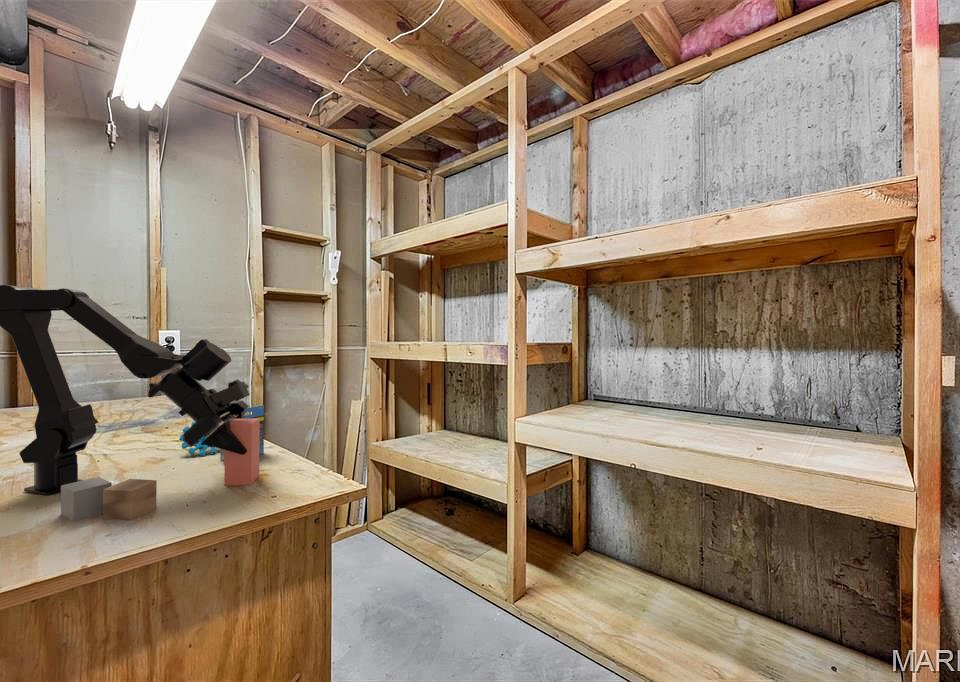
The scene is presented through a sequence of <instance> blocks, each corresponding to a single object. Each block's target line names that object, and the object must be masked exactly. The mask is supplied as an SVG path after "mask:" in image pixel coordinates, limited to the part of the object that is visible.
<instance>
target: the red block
mask: <svg viewBox="0 0 960 682" xmlns="http://www.w3.org/2000/svg"><path fill="white" fill-rule="evenodd" d="M230 430H231V431H232V433H233V434H234V435H235V436H236V437H237V438H238V440H239V441H240V442H241V443H242V444H243V445H244V447H245V448H246V449H247V452H246V453H245V454H244V455H241V454H238V453H234V452H231V451H227V450H225V461H224V470H223V471H224V480H223V481H224V483H223V484H224V486H227V487H228V486H248V485H250V486H251V485H253V484H254V482H255V481H256V480H257V479H258V478H259V477H260V454H259V432H260V418H255V419H233V420H231V421H230Z"/></svg>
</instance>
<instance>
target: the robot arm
mask: <svg viewBox="0 0 960 682" xmlns="http://www.w3.org/2000/svg"><path fill="white" fill-rule="evenodd" d="M53 311H55V312H57V311H58V312H59V311H63V312H64V313H65V314H66V315H68V316H69V317H70V318H72V319H73V320H75V321H76V322H77V323H79V324H80V325H81V326H82V327H84V328H85V329H86V330H88V331H89V332H90V333H92V334H93V335H95V336H96V338H97V337H98V339H100V340H101V341H102V342H104V343H105V344H106V345H108V346H109V348H112V349H113V350H114V352H116V353H117V355H118V358H119V360H120V362H121V363H122V364H123V365H124V366H125V368H126V369H128V371H129V372H130V373H131V374H132V375H133V376H135V377H137V378H138V379H141V380H142V379H144V380H146V379H152V378H158V377H162V376H164V377H163V378H162V379H160V380H158V382H157V381H155V382H151V383H149V384H148V386H149V387H148V388H149V390H148V394H147V397H148V398H150V399H151V398H154V397H157V396H160V395H162V394H163V395H164V396H166V398H167V399H169V400H170V402H172V403H173V404H174V405H176V406H177V408H179V409H180V410H179V411H178V414H179V416H182V417H183V416H186V415H187V416H188V417H189V418H190V419H191V420H193V422H196V423H195V424H194V425H193V426H191V427H189V429H188V430H187V431H186V432H185V433H184V432H183V433H182V434H183V441H182V442H185V443H186V444H187V445H188V446H189V447H188V448H189V449H190V448H194V447H195V446H194V445H196V444H198V443H199V440H200V439H201V438H202V437H205V438H206V439H205V440H204V441H203V442H202V443H201V445H207V446H212V447H215V449H219V450H220V449H224V450H227V451H231V452H234V453H238V454H241V455H244V454H245V453H246V452H247V449H246V448H245V447H244V445H243V444H242V443H241V442H240V441H239V440H238V438H237V437H236V436H235V435H234V434H233V433H232V431H231V430H230V421H231V420H233V419H244V416H245V415H246V413H247V412H245V411H244V410H246V409H247V408H250V407H249V405H248V404H247V403H246V402H245V401H243V400H242V399H245V398H247V397H248V396H251V394H250V392H249V390H248V389H249V385H248V384H247V383H246V382H245V381H241V380H239V379H236V380H234V381H231V382H227V383H228V385H227V387H226V388H224V389H221V390H220V391H216V390H215V389H214V388H209V389H207V388H206V387H205V386H204V385H202V384H201V383H200V382H201V381H203V380H204V381H208V382H209V381H211V380H212V379H213V378H214V377H216V375H217V374H218V373H220V372H221V371H222V370H224V368H225V367H226V366H228V365H229V364H230V363H231V362H232V357H231V355H229V354H228V352H227V351H225V349H223V348H221V347H219V346H218V345H216V344H214V343H212V342H210V341H209V340H208V339H207V338H206V339H204V338H203V339H200V340H199V341H198V342H197V343H196V344H195V345H194V347H193V348H192V349H190V350H189V351H188V352H187V353H186V354H178V353H177V354H175V353H174V352H173V351H172V350H170V349H168V348H167V347H165V346H163V345H161V344H159V343H158V342H156V341H153V340H150V339H147V338H145V337H143V336H141V335H140V334H137V333H136V332H135V331H133V330H132V329H131V328H129V327H128V326H127V325H126V324H124V322H121V320H119V319H117V317H115V316H114V315H113V314H111V313H110V312H109V311H107V309H104V308H103V307H102V306H101V305H99V304H98V303H97V302H96V301H94V300H93V299H92V298H90V296H89V295H88V294H87V293H86V292H85V291H83V290H80V289H71V288H58V289H38V288H35V287H29V286H28V287H27V286H19V285H18V286H17V285H9V284H8V285H7V284H0V328H2V329H3V330H4V331H5V332H6V333H8V334H9V335H10V336H11V339H12V340H13V344H14V346H15V348H16V352H17V355H18V357H19V359H20V362H21V364H22V367H23V370H24V372H25V375H26V377H27V380H28V381H27V382H28V383H29V386H30V388H31V390H32V394H33V396H34V399H35V401H36V405H37V407H38V411H37V415H36V418H35V421H34V431H35V436H36V438H35V439H33V440H32V441H31V442H30V443H28V445H26V446H25V447H24V448H23V449H22V450H21V451H20V452H19V456H20V459H21V461H22V462H23V464H33V478H34V479H33V484H34V485H32V486H31V485H30V486H27V487H24V488H23V491H24V492H28V493H33V494H39V495H45V496H47V495H52V494H55V493H59V492H61V485H66V484H70V483H74V482H79V481H83V480H84V479H80V478H79V464H78V454H77V452H80V451H84V450H85V449H86V448H87V445H88V443H89V441H90V440H91V439H93V437H94V436H95V434H96V433H97V426H96V425H97V424H98V423H99V421H98V419H96V417H95V415H94V411H93V410H94V409H93V407H92V405H91V404H86V405H83V406H82V405H81V404H80V403H78V402H77V401H76V400H75V399H74V397H73V394H72V392H71V390H70V386H69V383H68V381H67V379H66V378H67V377H66V375H65V373H64V371H63V367H62V365H61V363H60V359H59V358H58V354H57V352H56V349H55V345H54V343H53V341H52V338H51V336H50V333H49V326H50V323H51V319H52V316H53V315H52V312H53ZM177 368H179V369H178V370H177V371H175V373H173V370H174V369H177Z"/></svg>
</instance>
